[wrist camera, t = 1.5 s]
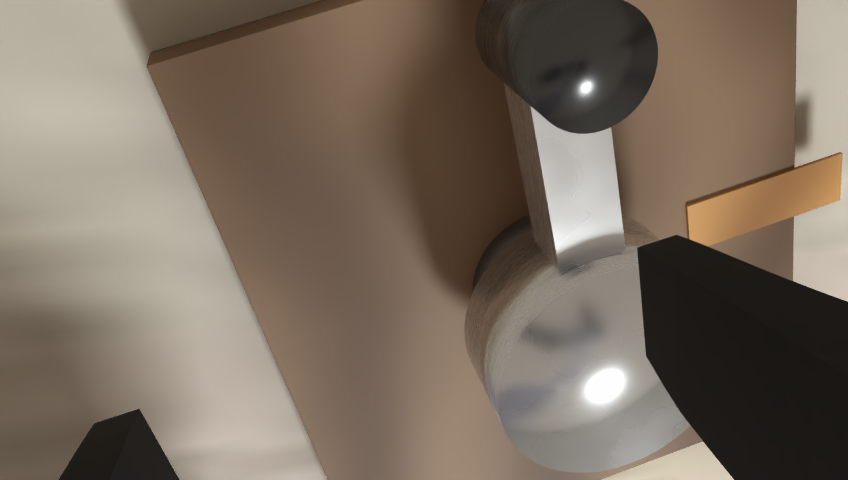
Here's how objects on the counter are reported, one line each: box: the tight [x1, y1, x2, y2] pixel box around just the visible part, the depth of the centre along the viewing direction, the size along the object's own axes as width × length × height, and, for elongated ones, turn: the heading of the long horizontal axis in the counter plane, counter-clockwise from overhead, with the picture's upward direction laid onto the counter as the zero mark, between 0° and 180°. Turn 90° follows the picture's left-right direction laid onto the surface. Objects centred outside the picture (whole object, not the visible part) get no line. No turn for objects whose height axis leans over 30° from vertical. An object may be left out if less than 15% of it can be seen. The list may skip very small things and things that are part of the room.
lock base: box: [147, 0, 842, 480], centre depth 22 cm, size 18×18×3 cm
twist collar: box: [464, 0, 691, 473], centre depth 17 cm, size 12×6×4 cm, turn 14°
